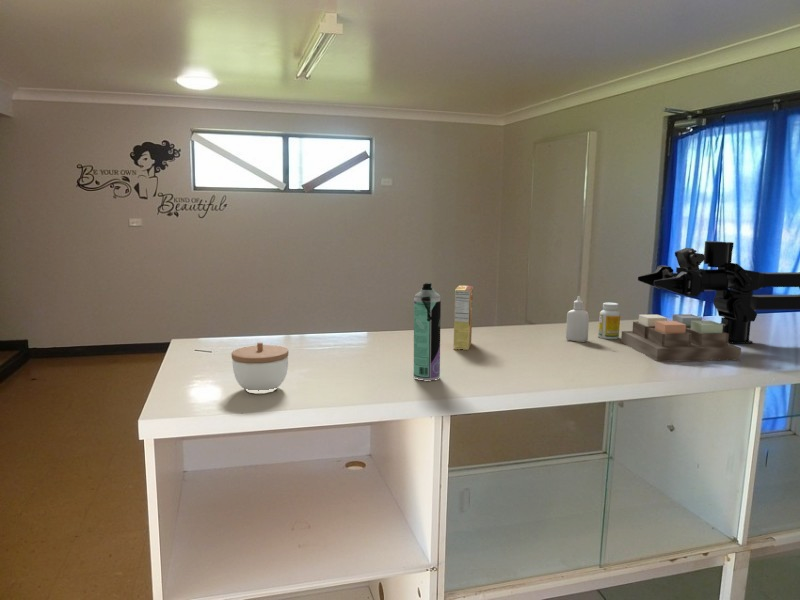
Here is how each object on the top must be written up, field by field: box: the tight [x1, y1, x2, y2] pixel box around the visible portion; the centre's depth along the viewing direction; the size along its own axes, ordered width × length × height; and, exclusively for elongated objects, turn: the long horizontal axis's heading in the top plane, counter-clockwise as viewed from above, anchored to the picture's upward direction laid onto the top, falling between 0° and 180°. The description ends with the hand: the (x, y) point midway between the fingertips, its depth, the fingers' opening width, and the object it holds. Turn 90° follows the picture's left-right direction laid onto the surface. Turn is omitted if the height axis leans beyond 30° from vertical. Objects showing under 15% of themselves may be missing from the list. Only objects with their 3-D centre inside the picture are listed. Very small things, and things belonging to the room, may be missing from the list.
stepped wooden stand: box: [620, 320, 742, 362], centre depth 147 cm, size 20×20×6 cm
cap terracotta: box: [655, 320, 686, 334], centre depth 142 cm, size 5×5×3 cm
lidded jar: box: [231, 341, 289, 391], centre depth 114 cm, size 11×11×9 cm
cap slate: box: [671, 313, 703, 326], centre depth 151 cm, size 5×5×3 cm
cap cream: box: [638, 314, 668, 326], centre depth 151 cm, size 5×5×3 cm
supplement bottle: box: [598, 301, 621, 340], centre depth 162 cm, size 5×5×10 cm
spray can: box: [413, 282, 442, 380], centre depth 122 cm, size 6×6×20 cm
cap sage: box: [691, 320, 723, 333], centre depth 143 cm, size 5×5×3 cm
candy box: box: [453, 285, 474, 351], centre depth 151 cm, size 9×4×15 cm, turn 169°
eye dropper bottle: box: [565, 295, 590, 343], centre depth 159 cm, size 4×6×12 cm
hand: (645, 280), depth 155 cm, fingers open, 9 cm apart
